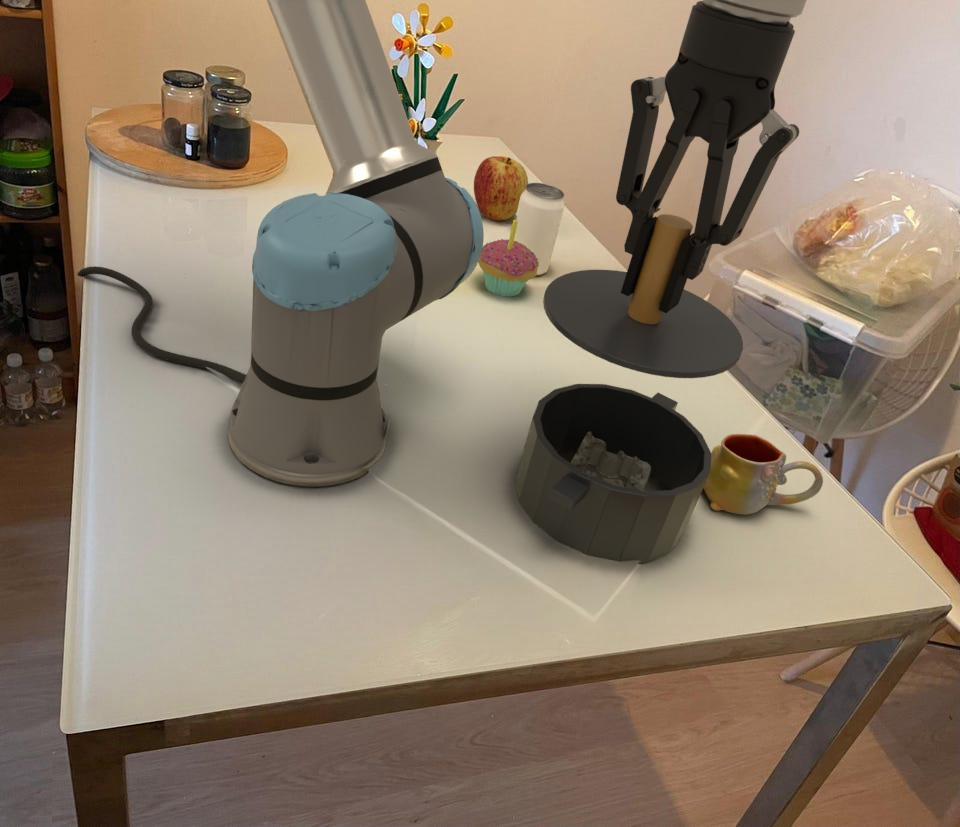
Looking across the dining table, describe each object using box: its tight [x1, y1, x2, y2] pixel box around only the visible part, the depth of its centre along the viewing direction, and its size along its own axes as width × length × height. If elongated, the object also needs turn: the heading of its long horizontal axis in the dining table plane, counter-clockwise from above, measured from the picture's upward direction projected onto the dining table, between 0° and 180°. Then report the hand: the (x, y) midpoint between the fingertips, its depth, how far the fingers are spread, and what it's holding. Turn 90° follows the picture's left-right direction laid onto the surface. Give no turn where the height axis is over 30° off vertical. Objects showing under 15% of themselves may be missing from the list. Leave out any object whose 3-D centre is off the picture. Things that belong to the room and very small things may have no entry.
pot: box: [514, 383, 712, 565], centre depth 82 cm, size 17×22×8 cm
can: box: [514, 182, 565, 277], centre depth 123 cm, size 6×6×12 cm
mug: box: [703, 433, 824, 516], centre depth 87 cm, size 12×7×7 cm, turn 84°
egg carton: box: [570, 431, 651, 491], centre depth 82 cm, size 11×8×4 cm
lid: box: [542, 213, 744, 379], centre depth 73 cm, size 18×18×10 cm
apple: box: [473, 155, 529, 222], centre depth 137 cm, size 9×9×10 cm
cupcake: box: [477, 214, 539, 297], centre depth 115 cm, size 9×8×12 cm
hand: (649, 298), depth 74 cm, fingers closed on lid, 3 cm apart
